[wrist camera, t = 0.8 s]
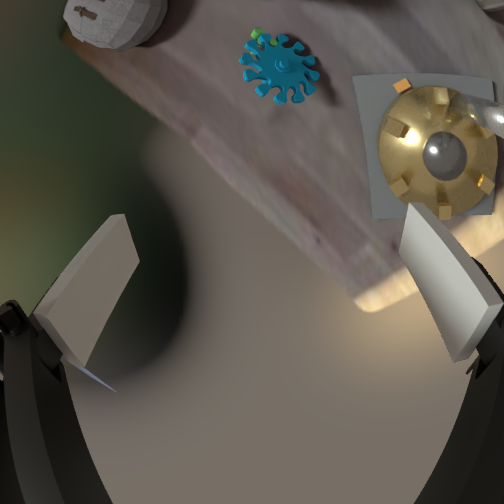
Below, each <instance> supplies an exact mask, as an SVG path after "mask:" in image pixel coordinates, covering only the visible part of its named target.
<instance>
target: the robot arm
mask: <svg viewBox="0 0 504 504" xmlns="http://www.w3.org/2000/svg"><path fill="white" fill-rule="evenodd" d="M399 254H400V256H401V258H402V259H403V261H404V263H405V265H406V266H407V268H408V270H409V272H410V274H411V275H412V277H413V279H414V281H415V283H416V285H417V287H418V288H419V290H420V292H421V294H422V296H423V298H424V300H425V302H426V304H427V306H428V308H429V310H430V312H431V314H432V316H433V318H434V320H435V323H436V324H437V327H438V329H439V331H440V333H441V336H442V338H443V340H444V343H445V345H446V347H447V349H448V352H449V354H450V357H451V359H452V361H453V363H454V362H457V361H462V360H465V359H468V358H469V357H470V356H471V354H472V353H473V351H474V350H475V348H476V349H477V351H478V353H479V355H478V357H477V358H476V359H475V361H474V362H473V363H472V365H471V366H470V367H469V369H468V370H467V372H466V374H468V373H469V372H470V371H471V370H472V369H473V371H472V374H471V378H470V381H469V385H468V388H467V391H466V394H465V397H464V400H463V403H462V406H461V409H460V412H459V415H458V417H457V420H456V422H455V425H454V427H453V430H452V432H451V435H450V437H449V439H448V442H447V443H446V446H445V448H444V450H443V452H442V454H441V456H440V458H439V460H438V462H437V464H436V466H435V468H434V470H433V472H432V474H431V476H430V477H429V479H428V481H427V483H426V484H425V487H424V488H423V490H422V491H421V493H420V495H419V496H418V498H417V500H416V501H415V503H414V504H504V294H503V293H502V291H501V290H500V288H499V287H498V286H497V284H496V283H495V282H493V279H492V277H491V276H490V275H488V272H487V271H486V269H485V268H484V267H483V265H482V264H481V263H479V262H478V261H477V260H476V259H474V258H473V257H470V255H469V254H468V253H467V252H466V250H465V249H464V248H463V247H462V246H461V244H460V243H459V242H458V241H457V240H456V238H455V237H454V236H453V235H452V234H451V233H450V231H449V230H448V229H447V228H446V227H445V226H444V225H443V224H442V223H441V221H440V220H439V219H438V218H437V217H436V216H435V215H434V214H433V213H432V212H431V211H430V210H429V209H428V208H427V207H426V206H425V204H424V203H421V202H409V205H408V210H407V216H406V221H405V226H404V231H403V235H402V240H401V244H400V249H399ZM138 263H139V258H138V255H137V253H136V249H135V247H134V244H133V241H132V238H131V234H130V231H129V228H128V225H127V222H126V219H125V215H124V214H120V215H111V216H110V217H109V218H108V219H107V221H106V222H105V223H104V224H103V225H102V226H101V227H100V228H99V229H98V231H97V232H96V233H95V234H94V235H93V236H92V237H91V238H90V240H89V241H88V242H87V243H86V244H85V245H84V247H83V248H82V249H81V250H80V251H79V253H78V254H77V255H76V256H75V257H74V259H73V260H72V261H71V262H70V264H69V265H68V266H67V267H66V268H65V270H64V271H63V272H62V274H61V275H59V276H58V277H57V278H56V279H55V281H54V282H53V283H52V285H51V286H50V288H49V289H48V290H47V291H46V293H45V295H43V297H42V298H41V300H40V301H39V303H38V304H37V305H36V307H35V308H34V310H33V311H32V313H31V314H30V316H29V317H27V316H26V314H25V313H24V311H23V310H22V308H21V307H20V305H19V304H18V302H17V301H16V300H9V301H7V302H5V303H4V304H2V305H1V306H0V330H1V331H2V332H0V373H1V374H2V375H3V376H4V377H3V381H1V380H0V504H113V503H112V501H111V499H110V497H109V495H108V493H107V491H106V489H105V487H104V485H103V483H102V481H101V479H100V476H99V474H98V472H97V470H96V467H95V465H94V463H93V460H92V458H91V455H90V453H89V450H88V448H87V445H86V442H85V439H84V437H83V434H82V431H81V428H80V425H79V422H78V419H77V415H76V412H75V409H74V405H73V402H72V398H71V394H70V390H69V386H68V383H67V378H66V374H65V369H64V366H63V363H62V362H61V361H60V358H61V357H62V355H64V356H65V357H66V359H67V360H68V361H69V362H70V364H74V365H79V366H83V367H85V364H86V363H87V360H88V358H89V356H90V354H91V352H92V350H93V348H94V346H95V343H96V341H97V339H98V337H99V335H100V333H101V331H102V329H103V327H104V325H105V323H106V321H107V319H108V317H109V315H110V313H111V312H112V310H113V308H114V306H115V304H116V302H117V300H118V299H119V297H120V295H121V293H122V291H123V289H124V287H125V286H126V284H127V282H128V280H129V279H130V277H131V275H132V273H133V272H134V270H135V268H136V266H137V265H138Z"/></svg>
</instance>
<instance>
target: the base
mask: <svg viewBox="0 0 504 504" xmlns="http://www.w3.org/2000/svg"><path fill="white" fill-rule="evenodd" d="M352 80H353V84H354V89H355V94H356V99H357V104H358V109H359V114H360V120H361V126H362V132H363V138H364V145H365V152H366V160H367V168H368V177H369V187H370V199H371V212H372V220H373V219H391V218H406V216H407V210H408V206H407V205H405V204H404V203H403V202H402V201H401V200H400V199H399V198H398V197H397V198H396V196H395V194H394V193H393V191H392V190H391V188H390V187H389V185H388V183H387V181H386V179H385V176H384V174H383V171H382V169H381V165H380V162H379V158H378V153H377V134H378V129H379V125H380V122H381V119H382V117H383V115H384V113H385V111H386V110H387V108H388V107H389V105H390V104H391V103H392V102H393V101H394V100H395V99H396V98H397V97H398V96H399V95H401V94H402V93H404V92H405V91H407V90H409V89H412V88H414V87H418V86H423V85H436V86H443V87H448V88H451V89H455V90H457V91H459V92H461V93H464V94H468V95H472V96H476V97H480V98H484V99H487V100H491V101H494V92H493V84H492V79H488V78H480V77H472V76H462V75H449V74H425V73H400V74H376V75H362V76H352ZM495 137H496V134H495ZM495 176H496V173H495ZM495 176H494V179H493V182H494V183H495ZM494 189H495V186H494V188H493V189H492V191H491V193H490V195H488V194H487V193H486V194H485V195H484V196H483V197H482V199H481V200H480V201H479V202H478V203H477V204H475V205H474V206H473V207H471V208H470V209H468V210H466V211H464V212H462V213H460V214H457V215H453V216H461V215H492V208H493V199H494Z"/></svg>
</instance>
